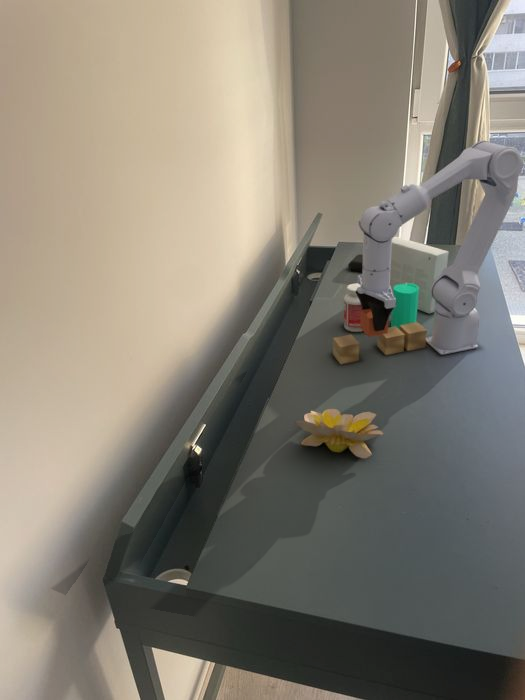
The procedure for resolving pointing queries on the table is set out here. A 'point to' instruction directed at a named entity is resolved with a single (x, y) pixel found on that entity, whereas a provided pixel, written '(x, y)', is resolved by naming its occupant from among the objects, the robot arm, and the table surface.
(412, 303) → the candle
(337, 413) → the decorative flower
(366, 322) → the orange block
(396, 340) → the block
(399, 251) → the skincare box
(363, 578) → the table surface
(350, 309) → the pill bottle
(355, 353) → the block
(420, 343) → the block
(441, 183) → the robot arm
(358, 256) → the carrying case
